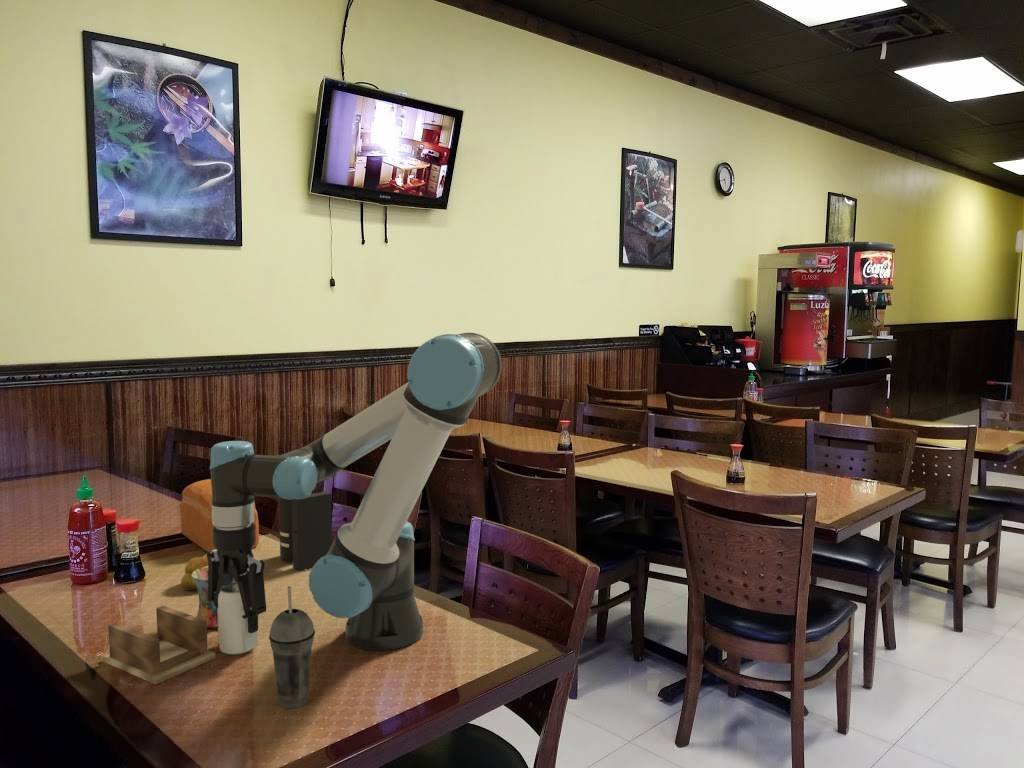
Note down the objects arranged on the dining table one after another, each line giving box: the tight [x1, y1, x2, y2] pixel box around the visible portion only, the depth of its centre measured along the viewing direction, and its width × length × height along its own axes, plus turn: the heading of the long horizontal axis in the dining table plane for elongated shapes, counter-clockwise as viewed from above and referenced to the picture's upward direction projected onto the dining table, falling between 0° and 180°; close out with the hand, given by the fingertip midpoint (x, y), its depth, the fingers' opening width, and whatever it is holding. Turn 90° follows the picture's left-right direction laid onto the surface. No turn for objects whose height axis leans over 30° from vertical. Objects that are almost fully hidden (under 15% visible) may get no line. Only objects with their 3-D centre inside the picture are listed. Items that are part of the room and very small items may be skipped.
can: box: [218, 582, 254, 656], centre depth 149 cm, size 6×6×12 cm
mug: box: [191, 566, 246, 629], centre depth 162 cm, size 12×9×11 cm
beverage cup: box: [268, 585, 316, 709], centre depth 129 cm, size 7×7×20 cm
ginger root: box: [180, 553, 208, 591], centre depth 182 cm, size 13×10×8 cm
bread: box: [179, 478, 260, 553], centre depth 214 cm, size 14×26×16 cm, turn 40°
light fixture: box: [278, 491, 333, 572], centre depth 199 cm, size 10×14×18 cm
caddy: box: [102, 605, 216, 685], centre depth 144 cm, size 16×12×7 cm
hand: (237, 643), depth 149 cm, fingers closed on can, 6 cm apart
